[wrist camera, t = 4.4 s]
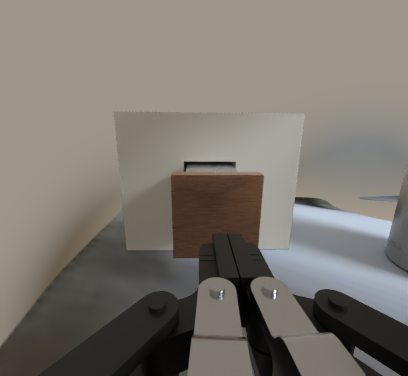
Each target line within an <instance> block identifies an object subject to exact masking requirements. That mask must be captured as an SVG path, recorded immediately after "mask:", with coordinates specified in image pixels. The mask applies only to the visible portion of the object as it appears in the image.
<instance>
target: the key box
mask: <svg viewBox="0 0 408 376" xmlns="http://www.w3.org/2000/svg"><path fill="white" fill-rule="evenodd" d="M304 117H305V114H268V113H267V114H266V113H265V114H264V113H179V112H114V119H115V130H116V140H117V152H118V162H119V173H120V184H121V194H122V205H123V216H124V227H125V237H126V248H127V251H129V250H173V229H172V198H171V174H172V172H185V171H186V168H187V165H188V163H230V164H231V165H233V166H234V167H235V168H236V169H237V170H238V171H239V172H260V173H261V174H263V175H264V182H263V194H262V206H261V219H260V231H259V244H258V248H259V249H289V241H290V233H291V225H292V216H293V208H294V200H295V190H296V183H297V174H298V166H299V158H300V150H301V142H302V133H303V125H304Z"/></svg>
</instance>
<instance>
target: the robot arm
mask: <svg viewBox="0 0 408 376" xmlns="http://www.w3.org/2000/svg"><path fill="white" fill-rule="evenodd" d="M386 254H387V256H388V257H389V258H390V259H391V260H392V261H393V262H394V263H396V264H397V265H398V266H400V267H401V268H403V269H405V270H406V271H408V162H407V166H406V170H405V174H404V178H403V182H402V186H401V190H400V194H399V198H398V202H397V206H396V210H395V214H394V218H393V222H392V226H391V230H390V234H389V238H388V242H387V246H386ZM241 327H245V328H246V332H247V340H246V338H245V337H243V335H242V328H241ZM355 346H356V347H357V348H359V349H360V350H362V351H364V352H365V353H367V354H368V355H370V356H371V357H373V358H374V359H376V360H377V361H379V362H381V363H382V364H384V365H385V366H387V367H388V368H390V369H391V370H393V371H395V372H396V373H398V374H399V375H401V376H408V326H407V325H405V324H403V323H401V322H399V321H397V320H395V319H393V318H391V317H389V316H387V315H385V314H383V313H381V312H379V311H377V310H375V309H373V308H371V307H369V306H367V305H365V304H363V303H361V302H359V301H357V300H355V299H353V298H351V297H349V296H347V295H345V294H343V293H341V292H338V291H335V290H330V289H323V290H319V291H318V292H316V294H315V298H314V299H310V298H306V297H301V296H297V295H294V294H292V293H291V292H290V290H289V289H288V287H287V286H286V285H285V284H284V283H282V282H281V281H279V280H277V279H275V278H274V277H273V275H272V273H271V271H270V269H269V267H268V265H267V263H266V261H265V259H264V258H263V256H262V254H261V252H260V250H259V248H258V247H257V246H255V245H254V244H253V243H245V241H244V239H243V236H242V234H213V236H212V243H203V244H202V246H201V247H200V248H199V288H198V289H197V291H196V292H195V293H194V294H192V295H191V296H188V297H186V298H183V299H179V300H177V298H176V297H175V296H174V295H173V294H171V293H169V292H165V291H158V292H153V293H150V294H148V295H146V296H145V297H143V298H142V299H141V300H139V301H138V302H136V303H135V304H134V305H132V306H131V307H130V308H128V309H127V310H126V311H124V312H123V313H122V314H120V315H119V316H118V317H116V318H115V319H114V320H112V321H111V322H110V323H108V324H107V325H105V326H104V327H103V328H101V329H100V330H99V331H97V332H96V333H95V334H93V335H92V336H91V337H89V338H88V339H87V340H85V341H84V342H83V343H81V344H80V345H78V346H77V347H76V348H74V349H73V350H72V351H70V352H69V353H68V354H66V355H65V356H64V357H62V358H61V359H60V360H58V361H57V362H56V363H54V364H53V365H52V366H50V367H49V368H47V369H46V370H45V371H43V372H42V373H41V374H39V375H38V376H179V373H180V372H183V371H185V370H187V369H188V376H253V375H252V368H251V364H252V367H253V370H254V373H255V376H382V375H381V374H379V373H378V372H376V371H375V370H373V369H372V368H370V367H369V366H367V365H366V364H364V363H363V362H361V361H360V360H358V359H357V358H355V357H354V356H353V353H354V349H355ZM250 360H251V362H250Z"/></svg>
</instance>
